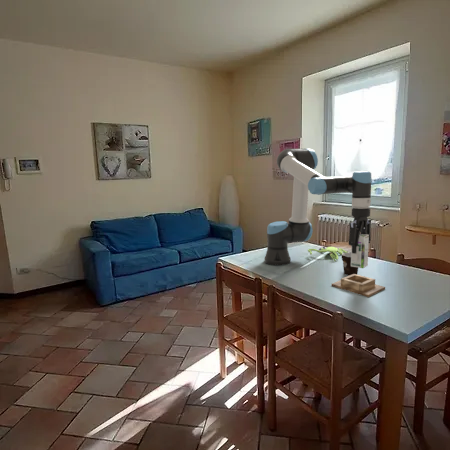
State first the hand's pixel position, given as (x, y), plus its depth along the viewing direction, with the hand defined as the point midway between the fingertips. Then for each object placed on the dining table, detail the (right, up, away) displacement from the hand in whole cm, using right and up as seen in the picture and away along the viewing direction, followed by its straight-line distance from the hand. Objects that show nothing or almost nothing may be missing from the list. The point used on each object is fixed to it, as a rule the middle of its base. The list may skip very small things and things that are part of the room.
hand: (359, 258), depth 147 cm
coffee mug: (+5, -10, +23) cm, 26 cm away
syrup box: (0, -4, +1) cm, 4 cm away
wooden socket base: (0, -13, +3) cm, 14 cm away
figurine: (+4, -5, +56) cm, 56 cm away
